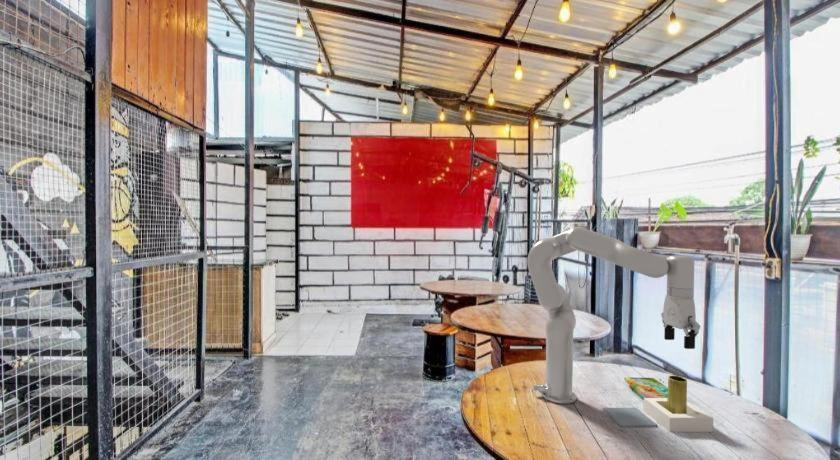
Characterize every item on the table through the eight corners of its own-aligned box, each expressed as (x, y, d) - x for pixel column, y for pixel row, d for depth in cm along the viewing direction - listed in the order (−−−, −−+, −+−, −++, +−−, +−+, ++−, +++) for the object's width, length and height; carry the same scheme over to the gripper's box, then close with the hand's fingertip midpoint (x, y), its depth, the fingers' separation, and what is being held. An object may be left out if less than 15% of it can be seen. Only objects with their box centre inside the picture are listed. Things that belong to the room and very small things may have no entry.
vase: (684, 418, 134) (685, 376, 134) (689, 426, 129) (691, 383, 128) (663, 414, 136) (664, 373, 136) (668, 423, 131) (669, 380, 130)
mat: (621, 426, 128) (621, 425, 128) (602, 409, 140) (602, 407, 140) (657, 426, 128) (657, 425, 128) (636, 409, 140) (636, 407, 140)
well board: (669, 431, 125) (670, 417, 125) (643, 410, 139) (643, 397, 139) (712, 431, 126) (713, 417, 126) (682, 410, 140) (682, 398, 140)
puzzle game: (650, 396, 141) (624, 374, 161) (649, 409, 141) (623, 386, 161) (684, 397, 140) (653, 375, 160) (683, 410, 140) (653, 387, 160)
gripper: (652, 288, 140) (652, 336, 140) (687, 297, 123) (686, 352, 123) (673, 288, 140) (672, 336, 141) (711, 297, 123) (709, 352, 123)
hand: (679, 343), depth 132 cm, fingers open, 9 cm apart
